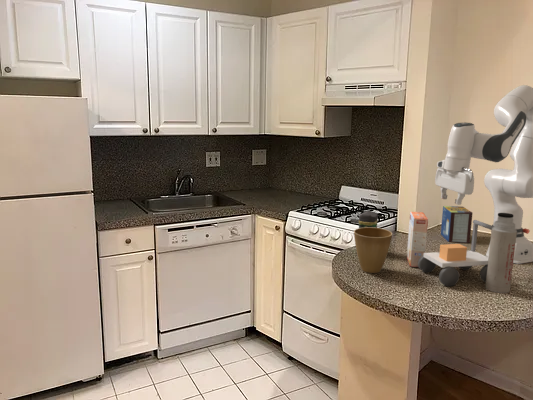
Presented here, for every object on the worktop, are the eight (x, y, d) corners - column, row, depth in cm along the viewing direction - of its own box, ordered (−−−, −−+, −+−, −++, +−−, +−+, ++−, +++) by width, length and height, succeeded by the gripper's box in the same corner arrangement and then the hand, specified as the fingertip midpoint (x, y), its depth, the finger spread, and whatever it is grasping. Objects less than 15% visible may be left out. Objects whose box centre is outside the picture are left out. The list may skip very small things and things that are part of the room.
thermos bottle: (514, 291, 163) (524, 215, 158) (499, 294, 160) (507, 217, 155) (495, 283, 170) (504, 210, 165) (480, 286, 167) (488, 212, 162)
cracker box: (424, 268, 187) (428, 218, 183) (409, 267, 188) (413, 217, 184) (420, 258, 200) (424, 211, 196) (406, 257, 201) (409, 210, 197)
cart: (470, 268, 187) (475, 218, 184) (498, 282, 171) (504, 228, 167) (417, 271, 183) (421, 220, 179) (441, 287, 166) (446, 231, 162)
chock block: (457, 256, 176) (458, 243, 175) (465, 260, 171) (467, 247, 170) (439, 257, 174) (440, 244, 173) (446, 261, 169) (447, 248, 169)
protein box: (460, 235, 239) (463, 206, 237) (470, 243, 224) (473, 212, 222) (440, 234, 241) (442, 205, 238) (448, 242, 226) (450, 211, 223)
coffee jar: (360, 247, 214) (362, 209, 211) (377, 250, 211) (379, 211, 207) (355, 253, 206) (357, 213, 202) (372, 255, 202) (374, 215, 199)
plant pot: (349, 263, 191) (351, 226, 188) (385, 264, 191) (387, 227, 188) (355, 276, 177) (357, 236, 174) (393, 277, 176) (396, 237, 173)
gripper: (481, 170, 162) (474, 208, 165) (449, 162, 182) (443, 196, 184) (465, 169, 161) (459, 207, 163) (434, 161, 180) (429, 195, 183)
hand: (450, 201), depth 174 cm, fingers open, 8 cm apart
